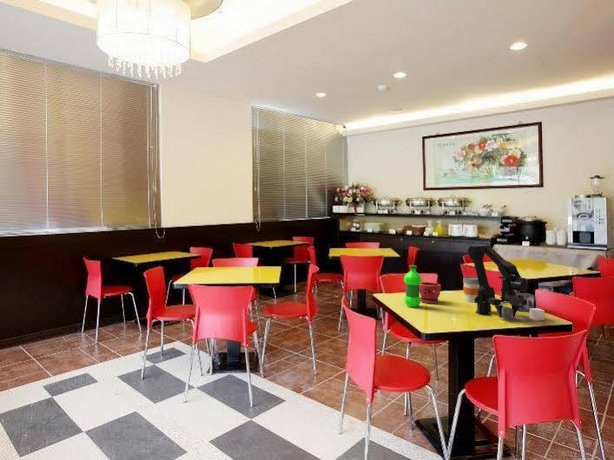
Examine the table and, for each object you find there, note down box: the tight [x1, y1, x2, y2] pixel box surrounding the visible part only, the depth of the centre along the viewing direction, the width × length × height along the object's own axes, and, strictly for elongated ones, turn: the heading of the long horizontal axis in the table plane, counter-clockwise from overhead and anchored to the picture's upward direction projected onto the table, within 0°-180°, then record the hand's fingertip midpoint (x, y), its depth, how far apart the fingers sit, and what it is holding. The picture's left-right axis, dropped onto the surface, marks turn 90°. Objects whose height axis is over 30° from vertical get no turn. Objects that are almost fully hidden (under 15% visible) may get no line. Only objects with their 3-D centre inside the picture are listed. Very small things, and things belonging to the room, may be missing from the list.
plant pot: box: [419, 281, 442, 304], centre depth 259 cm, size 13×13×12 cm
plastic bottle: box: [403, 264, 423, 308], centre depth 247 cm, size 10×10×25 cm
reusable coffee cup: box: [462, 276, 479, 304], centre depth 262 cm, size 13×13×15 cm
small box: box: [510, 292, 535, 312], centre depth 236 cm, size 11×6×10 cm, turn 105°
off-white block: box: [528, 307, 545, 320], centre depth 217 cm, size 5×5×5 cm
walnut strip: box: [498, 306, 556, 323], centre depth 216 cm, size 24×12×7 cm, turn 94°
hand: (506, 317), depth 216 cm, fingers open, 7 cm apart
